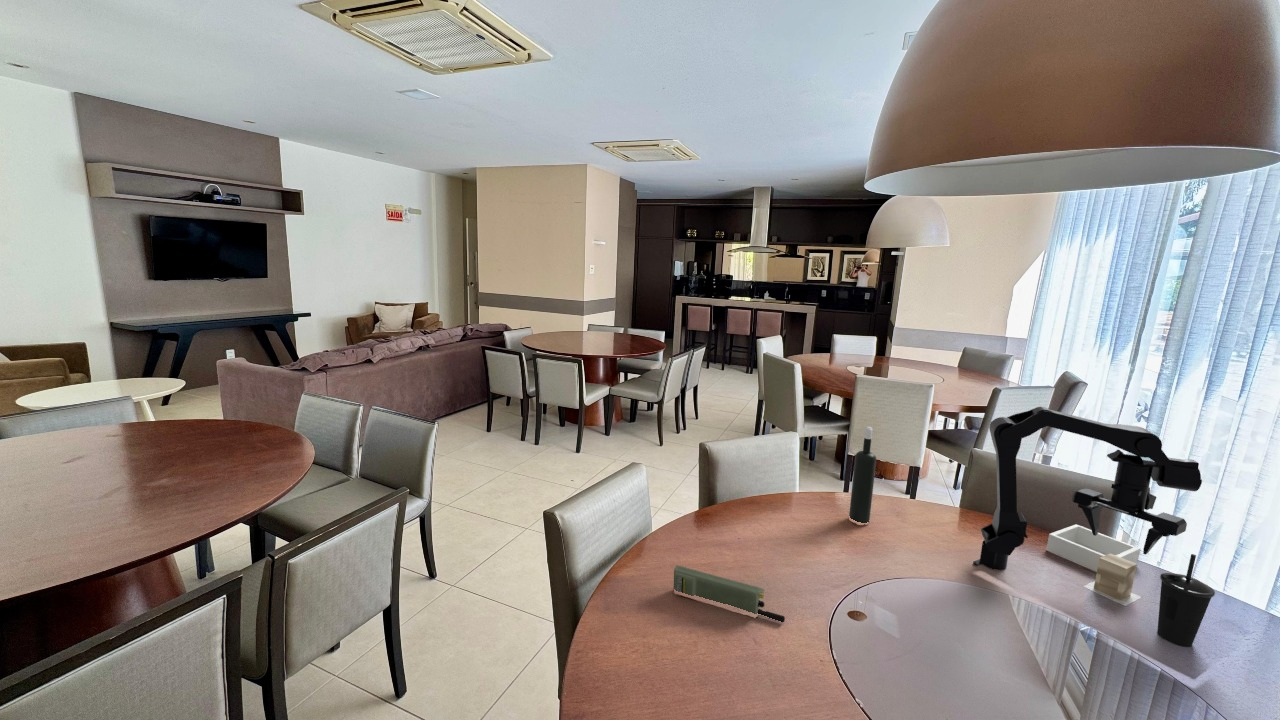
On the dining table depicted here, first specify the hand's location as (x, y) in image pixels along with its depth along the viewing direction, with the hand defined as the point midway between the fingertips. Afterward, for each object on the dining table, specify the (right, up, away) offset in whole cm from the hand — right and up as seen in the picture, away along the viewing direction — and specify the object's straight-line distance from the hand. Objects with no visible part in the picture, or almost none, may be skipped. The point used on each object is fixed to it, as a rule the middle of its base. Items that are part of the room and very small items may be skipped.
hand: (1119, 544), depth 119 cm
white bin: (+8, -11, +16) cm, 21 cm away
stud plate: (-1, -13, +1) cm, 13 cm away
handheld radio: (-94, -12, -6) cm, 95 cm away
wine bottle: (-46, -6, +35) cm, 59 cm away
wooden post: (-1, -12, +1) cm, 12 cm away
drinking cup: (-2, -16, -14) cm, 21 cm away
